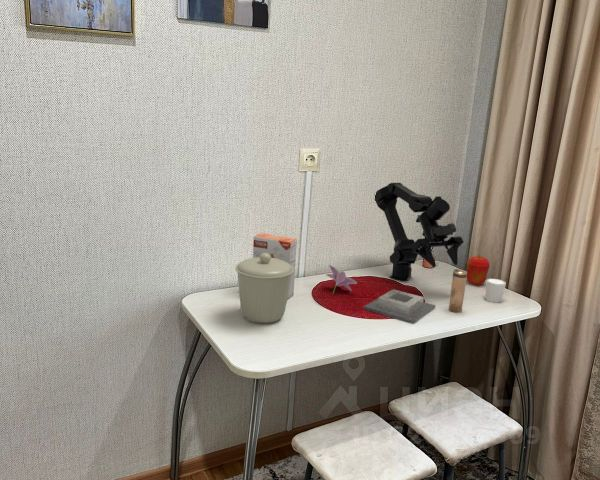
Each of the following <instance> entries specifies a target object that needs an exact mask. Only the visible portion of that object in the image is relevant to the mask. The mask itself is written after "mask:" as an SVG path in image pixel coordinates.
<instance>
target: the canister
mask: <svg viewBox="0 0 600 480" xmlns="http://www.w3.org/2000/svg"><path fill="white" fill-rule="evenodd" d="M234 268H235V271H236V272H237V282H238V293H239V294H238V295H239V304H240V311H241V314H242V316H243V317H244V318H245V320H247V321H250V322H253V323H256V324H257V323H258V324H271V323H275V322H277V321H280V320H281V319H282V318H283V316H284V315H285V312H286V307H287V304H288V300H287V298H288V292H289V286H290V281H291V274H292V273H293V272H294V268H293V266H291V265H290V264H288V263H287V262H285V261H283V260H280V259H276V258H271V256H270V254H268V253H262V254H261V255H260V257H256V258H253V257H249V258H246V259H244V260H242V261H240V262H238V263H237V264H236V265H235V267H234Z"/></svg>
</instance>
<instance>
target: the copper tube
mask: <svg viewBox="0 0 600 480" xmlns="http://www.w3.org/2000/svg"><path fill="white" fill-rule="evenodd" d="M466 284H467V270H464V269H460V268H459V269H453V273H452V282H451V288H450V289H451V290H450V295H449V296H450V297H449V302H448V303H449V304H448V311H449V312H452V313H457V314H458V313H460V314H461V313H462V312H463V306H464V297H465V291H466Z"/></svg>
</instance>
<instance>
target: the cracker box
mask: <svg viewBox="0 0 600 480" xmlns="http://www.w3.org/2000/svg"><path fill="white" fill-rule="evenodd" d="M297 241H298V240H297V238H295V237H288V236H282V235H276V234H270V233H263V232H260V233H257V234H256V235H254V236H253V244H252V246H253V247H252V258H256V257H260V255H261V254H262V253H268V254H270V256H271V258H276V259H280V260H283V261H285V262H287V263H288V264H290V265H291V266H293V268H294V272H293V273H292V274H291V281H290V286H289V292H288V298H287V301H288V300H289V299H290V298H291V297H292V296H294V292H295V277H296V275H295V274H296V260H297V259H296V258H297Z"/></svg>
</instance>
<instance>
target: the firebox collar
mask: <svg viewBox="0 0 600 480" xmlns="http://www.w3.org/2000/svg"><path fill="white" fill-rule="evenodd" d="M424 298H425V297H424V296H420V295H418V294H413V293H409V292H406V291H401V290H397V289H394V288H393V289H391V290H389V291H388V292H386V293H385V294H382V295H380V296H379V297H378V298H377V299H374V300H373V301H371V302H369V303H367V304H366V305H364V306H363V310H366V311H368V312H372V313H375V314H379V315H382V316H385V317H389V318H392V319H395V320H399V321H402V322H406V323H408V324H412V325H415V324H416V323H418V322H419V321H420V320H421V319H423V317H425V316H427V315H428V314H429V313H430V312H432V311H433V310H434V309H436V304H432V303H428V302H425V301H424Z"/></svg>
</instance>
